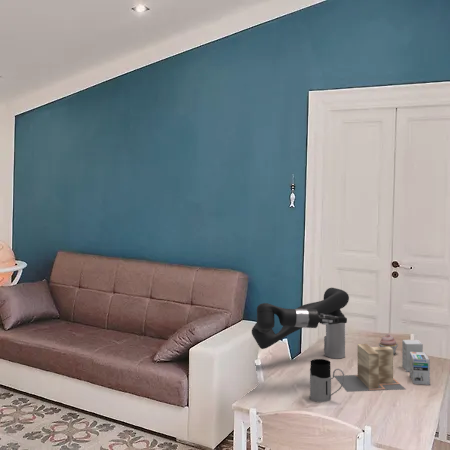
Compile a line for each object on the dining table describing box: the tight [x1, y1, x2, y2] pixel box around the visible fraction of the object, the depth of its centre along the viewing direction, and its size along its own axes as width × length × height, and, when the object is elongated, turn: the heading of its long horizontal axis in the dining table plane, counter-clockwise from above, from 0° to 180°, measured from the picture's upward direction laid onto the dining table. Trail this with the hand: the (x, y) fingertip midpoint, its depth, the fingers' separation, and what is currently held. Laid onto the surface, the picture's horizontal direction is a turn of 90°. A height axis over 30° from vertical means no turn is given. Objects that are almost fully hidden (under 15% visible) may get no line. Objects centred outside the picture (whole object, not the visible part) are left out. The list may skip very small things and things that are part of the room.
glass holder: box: [309, 358, 345, 403], centre depth 201 cm, size 9×14×15 cm, turn 51°
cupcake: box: [378, 333, 399, 356], centre depth 263 cm, size 9×9×10 cm
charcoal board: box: [334, 374, 406, 393], centre depth 219 cm, size 24×19×1 cm
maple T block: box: [357, 343, 394, 388], centre depth 219 cm, size 12×14×14 cm
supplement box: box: [401, 339, 424, 373], centre depth 238 cm, size 7×7×13 cm
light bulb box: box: [409, 351, 431, 386], centre depth 224 cm, size 11×7×11 cm, turn 169°
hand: (346, 320), depth 218 cm, fingers closed
